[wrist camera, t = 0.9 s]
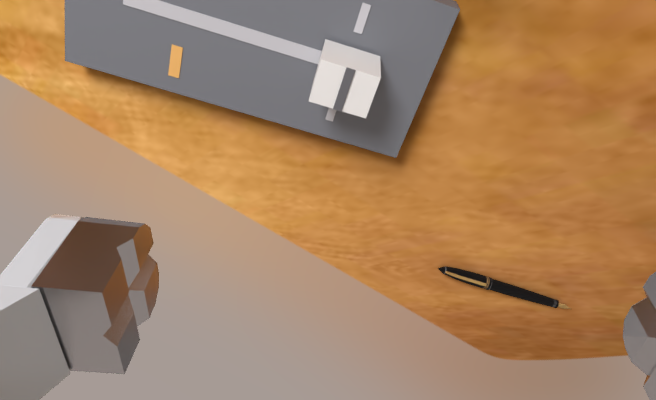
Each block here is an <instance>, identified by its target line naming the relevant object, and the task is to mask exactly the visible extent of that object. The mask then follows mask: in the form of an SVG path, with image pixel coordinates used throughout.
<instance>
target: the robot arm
mask: <svg viewBox="0 0 656 400" xmlns="http://www.w3.org/2000/svg"><path fill="white" fill-rule="evenodd" d="M152 245H153V239H152V234H151V229H150V227H148V226H147V225H146V224H142V223H133V222H125V221H116V220H106V219H98V218H89V217H85V218H82V217H75V216H67V215H58V214H55V215H53V216H50V217H48V218H47V219H45V221H44V222H43V223H42V224H41V226H40V227H39V228H38V229H37V230H36V232H35V233H34V234H33V235H32V237H31V238H30V239H29V240H28V241H27V243H26V244H25V245H24V246H23V248H22V249H21V250H20V251H19V253H18V254H17V255H16V256H15V258H14V259H13V260H12V261H11V262H10V264H9V265H8V266H7V267H6V268H5V270H4V271H3V272H2V273H1V275H0V400H40V399H41V398H42V397H43V396H44V395H46V394H47V393H48V392H49V391H50V390H51V389H52V388H54V387H55V386H56V385H57V384H59V383H60V382H61V381H62V380H63V379H65V378H66V377H67V376H68V375H69V374H70V370H71V371H86V372H101V373H116V374H125V372H126V370H127V367H128V365H129V363H130V361H131V358H132V356H133V354H134V352H135V349H136V347H137V345H138V343H139V340H140V339H139V334H138V329H137V326H138V325H140V324H141V323H143V322H144V321H146V320H147V319H149V318H150V315H151V313H152V310H153V308H154V306H155V303H156V298H157V293H158V288H159V272H158V266H157V263H156V262H155V261H154V260H153V259H152V258H151V257H150V256H149V255H148V253H149V251H150V249H151V247H152ZM643 288H644V291H645V294H646V296H647V298H645V299H643V300H642V301H640V302H638V303H636V304H635V305H633V306H632V307H631V309H630V310H629V312H628V314H627V316H626V318H625V320H624V330H623V339H624V344H625V349H626V351H627V353H628V355H629V357H630V360H631V362H632V363H633V364H634V365H636V366H637V367H638V368H639V369H640V370H641V371H643V372H644V373H645V374H646V375H647V377H646V380H645V383H644V386H643V387H644V389H645V391H646V393H647V395H648V397H649V399H650V400H656V272H655V273H654V274H652V275H651V276H650V277H649V278H648V280H647V282H646V283H645V285H644V286H643Z"/></svg>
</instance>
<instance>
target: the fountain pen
mask: <svg viewBox="0 0 656 400" xmlns="http://www.w3.org/2000/svg"><path fill="white" fill-rule="evenodd" d="M438 269H439V270H440V271H441V272H442V273H443V274H445V275H448V276H450V277H452V278H454V279H457V280H459V281H462V282H465V283H468V284H471V285H474V286H477V287H480V288H484V289H487V290H489V289H490V290H493V291H496V292H500V293H503V294H506V295H510V296H513V297H517V298H521V299H524V300H528V301H532V302H536V303H539V304H543V305H547V306H551V307H554V308H557V307H560V308H563V309H570V308H569V307H568V306H566V305H565V304H561V303H559V302H558V300H554V299H552V298H549V297H546V296H543V295H540V294H537V293H534V292H531V291H528V290H525V289H522V288H519V287H516V286H513V285H510V284H507V283H503V282H500V281H497V280H494V279H492V278H490V277H486V276H483V275H480V274H476V273H473V272H469V271H465V270H461V269H457V268H451V267H441V268H438Z"/></svg>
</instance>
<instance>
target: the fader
mask: <svg viewBox="0 0 656 400" xmlns="http://www.w3.org/2000/svg"><path fill="white" fill-rule="evenodd" d="M380 79H381V64H380V56H378V55H375V54H372V53H369V52H365V51H362V50H359V49H356V48H353V47H349V46H346V45H343V44H340V43H337V42H334V41H330V40H327V39H325V42H324V46H323V49H322V53H321V56H320V59H319V63H318V66H317V70H316V73H315V77H314V80H313V84H312V89H311V93H310V97H309V102H312V103H316V104H319V105H322V106H326V107H329V108H332V109H334V110H337V111H341V112H346V113H349V114H352V115H356V116H359V117H362V118H366V117H367V114H368V111H369V109H370V106H371V103H372V101H373V98H374V95H375V93H376V90H377V87H378V84H379V82H380Z"/></svg>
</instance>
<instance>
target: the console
mask: <svg viewBox="0 0 656 400" xmlns="http://www.w3.org/2000/svg"><path fill="white" fill-rule="evenodd" d="M459 11H460V8H459V6H458V4H457V2H456V1H453V0H65V61H68V62H71V63H75V64H78V65H82V66H85V67H88V68H92V69H95V70H99V71H102V72H105V73H109V74H112V75H116V76H119V77H122V78H126V79H129V80H133V81H136V82H139V83H143V84H146V85H150V86H153V87H156V88H160V89H163V90H167V91H170V92H173V93H177V94H180V95H184V96H187V97H190V98H194V99H197V100H201V101H204V102H208V103H211V104H214V105H218V106H221V107H225V108H228V109H231V110H235V111H238V112H242V113H245V114H248V115H252V116H255V117H259V118H262V119H265V120H269V121H272V122H276V123H279V124H282V125H286V126H289V127H293V128H296V129H299V130H303V131H306V132H310V133H313V134H316V135H320V136H323V137H327V138H330V139H334V140H337V141H340V142H344V143H347V144H351V145H354V146H357V147H361V148H364V149H368V150H371V151H374V152H378V153H381V154H385V155H388V156H391V157H395V158H396V157H397V155H398V152H399V150H400V148H401V145H402V143H403V141H404V138H405V136H406V134H407V132H408V129H409V127H410V125H411V122H412V120H413V118H414V115H415V113H416V111H417V108H418V106H419V104H420V101H421V99H422V97H423V94H424V92H425V90H426V87H427V85H428V83H429V80H430V78H431V76H432V73H433V71H434V69H435V66H436V64H437V62H438V59H439V57H440V55H441V52H442V50H443V48H444V45H445V43H446V41H447V39H448V36H449V34H450V32H451V29H452V27H453V25H454V22H455V20H456V18H457V15H458V13H459ZM325 39H327V40H330V41H334V42H337V43H340V44H343V45H346V46H349V47H353V48H356V49H359V50H362V51H365V52H369V53H372V54H375V55H378V56H380V64H381V79H380V82H379V84H378V87H377V90H376V93H375V95H374V98H373V101H372V103H371V106H370V109H369V111H368V114H367V117H366V118H362V117H359V116H356V115H352V114H349V113H346V112H341V111H337V110H334V109H332V108H329V107H326V106H322V105H319V104H316V103H312V102H309V97H310V93H311V89H312V84H313V80H314V77H315V73H316V70H317V66H318V63H319V59H320V56H321V53H322V49H323V46H324V42H325Z"/></svg>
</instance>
